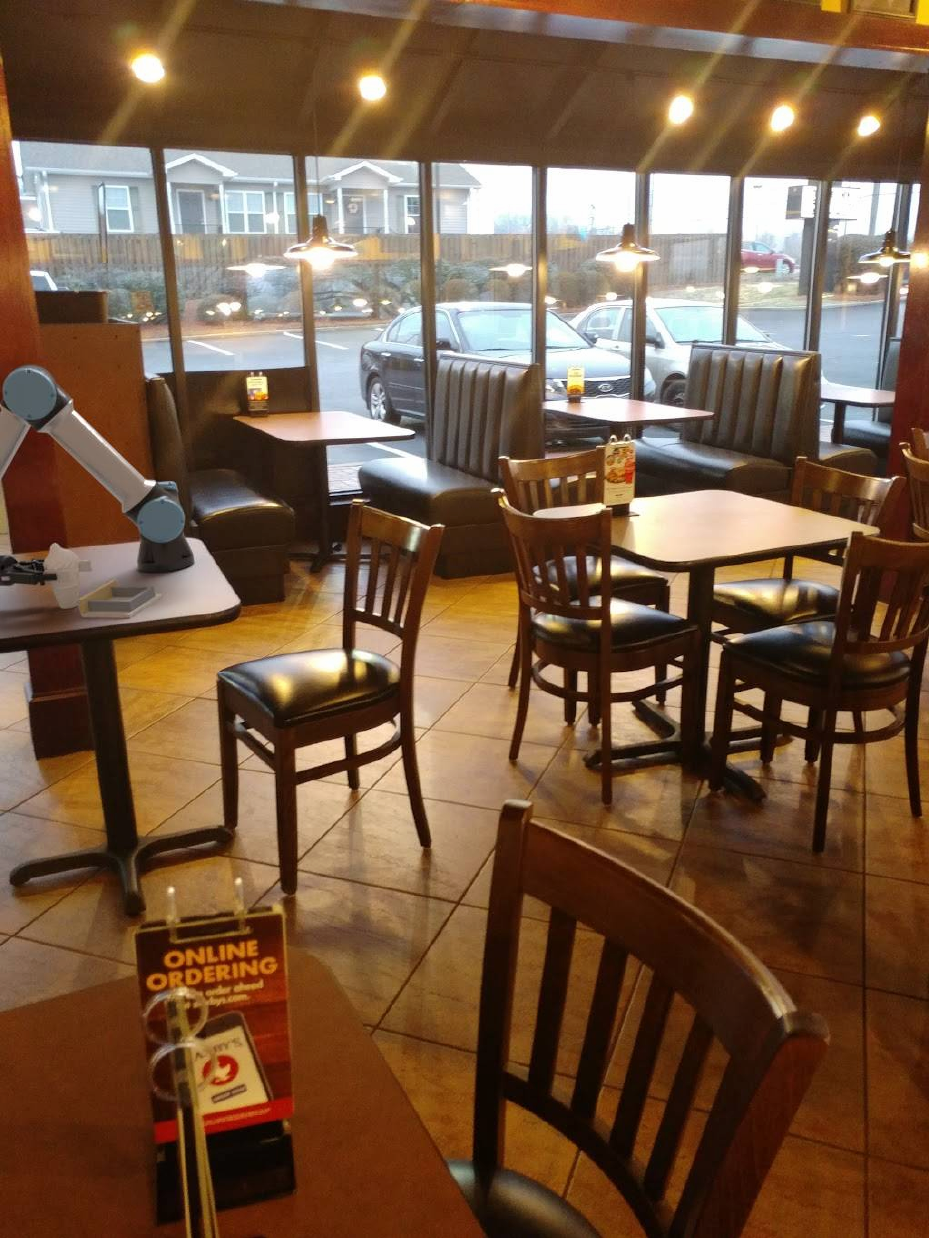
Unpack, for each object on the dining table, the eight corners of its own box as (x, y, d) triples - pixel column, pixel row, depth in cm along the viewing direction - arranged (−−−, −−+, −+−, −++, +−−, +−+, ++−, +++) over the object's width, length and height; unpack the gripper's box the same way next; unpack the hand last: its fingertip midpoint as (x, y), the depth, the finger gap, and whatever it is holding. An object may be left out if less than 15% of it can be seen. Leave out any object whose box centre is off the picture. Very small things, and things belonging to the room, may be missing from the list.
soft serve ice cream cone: (89, 599, 254) (78, 537, 249) (84, 609, 246) (73, 545, 241) (54, 603, 252) (42, 540, 247) (48, 613, 245) (36, 548, 239)
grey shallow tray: (162, 596, 253) (159, 580, 251) (130, 617, 238) (127, 600, 236) (115, 596, 255) (112, 579, 254) (80, 617, 240) (77, 599, 239)
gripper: (24, 573, 261) (105, 573, 256) (-28, 598, 241) (59, 599, 237) (19, 544, 258) (100, 544, 254) (-34, 567, 239) (53, 568, 235)
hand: (80, 570), depth 245 cm, fingers closed on soft serve ice cream cone, 8 cm apart
